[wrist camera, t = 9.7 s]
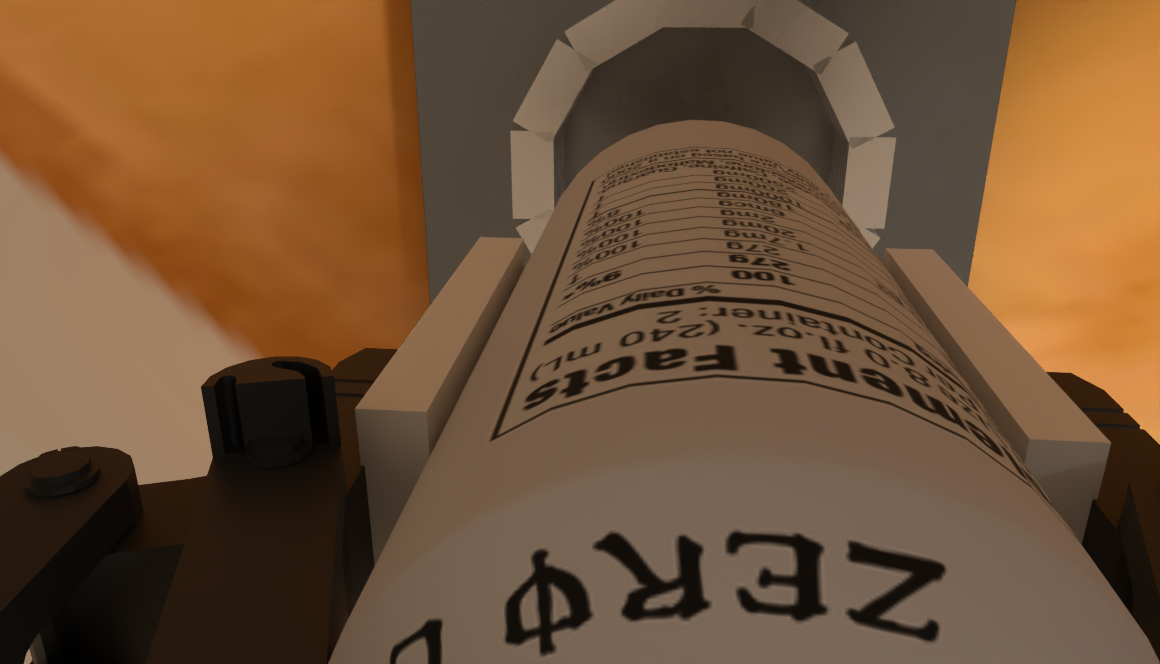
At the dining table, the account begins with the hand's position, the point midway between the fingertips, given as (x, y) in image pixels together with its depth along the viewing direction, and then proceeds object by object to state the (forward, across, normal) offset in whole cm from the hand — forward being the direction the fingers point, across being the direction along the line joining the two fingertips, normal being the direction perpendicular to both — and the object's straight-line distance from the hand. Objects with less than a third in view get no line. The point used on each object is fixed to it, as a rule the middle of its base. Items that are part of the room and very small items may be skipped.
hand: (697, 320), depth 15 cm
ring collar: (+14, 0, 0) cm, 14 cm away
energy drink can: (+4, 0, 0) cm, 4 cm away
